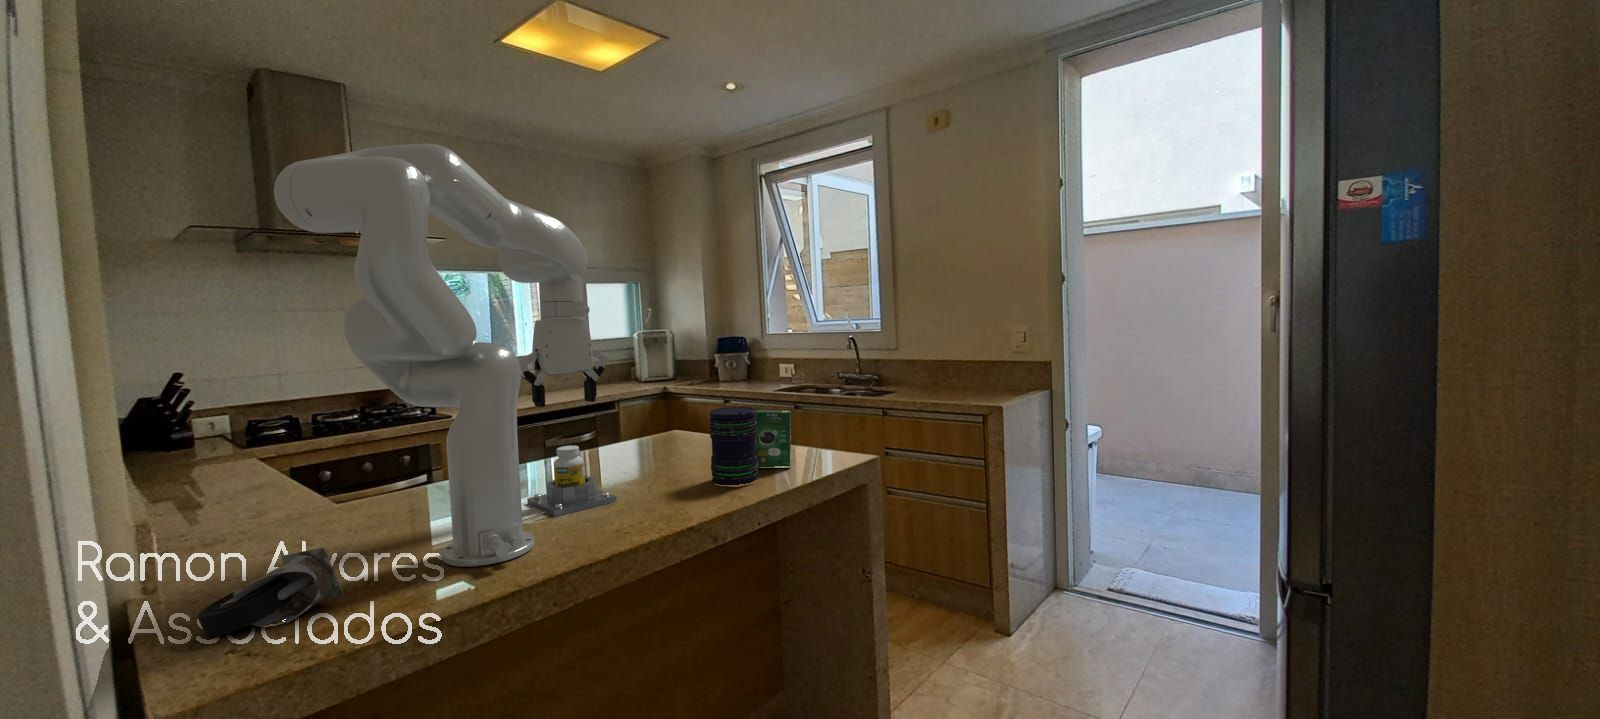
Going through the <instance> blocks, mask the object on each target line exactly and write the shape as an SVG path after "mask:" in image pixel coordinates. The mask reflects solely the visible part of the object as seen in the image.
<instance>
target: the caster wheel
mask: <svg viewBox="0 0 1600 719" xmlns="http://www.w3.org/2000/svg"><path fill="white" fill-rule="evenodd" d="M280 557H281V559H282V562H283V564H282V565H279V567H277V568H275V569H273V570H271V571H269V572H268V573H266V574H264V575H262V576H261V577H258V578H257V579H255V580H253V581H252V582H250V583H249V584H248V585H246V586H245V587H242V588H239V589H238V590H235V591H234V592H230V593H229V594H227V595H225V596H223V597H222V598H219V599H218V600H216V601H214V602H212V603H211V604H209V605H208V606H206V607H205V608H204V609H202V610H201V611H200V612H199V613H198V614H197V619H198V622H199V624H200V626H201V628H202V630H203V633H204V634H205V635H206V637H209V638H215V637H218V636H223V635H226V634H229V633H233V632H235V631H238V630H241V629H243V628H245V627H248V626H254V627H257V628H262V627H265V626H268V625H270V624H278V623H281V621H282V620H284V619H286V620H284V621H285V622H284V623H286V624H288V623H290V622H291V621H293V620H295V619H296V618H297V617H299V616H301V615H302V614H303V613H304V612H306V611H309V609H311V608H312V607H314V606H315V605H317V604H318V603H320V602H322V601H323V600H324V599H325V600H326V599H331V598H336V597H341V596H344V595H345V594H344V590H343V587H342V586H341V584H340V582H339V579H338V576H337V575H336V573H335V570H334V568H333V566H332V563H331V561H330V559H329V556H328V554H327V552H326V550H325V548H324V547H316V548H313V549H308V550H302V551H298V552H293V553H288V554H283V555H281V556H280ZM282 623H283V622H282ZM284 623H283V625H285V624H284ZM278 625H280V624H278ZM280 626H281V625H280Z"/></svg>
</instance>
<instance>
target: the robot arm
mask: <svg viewBox="0 0 1600 719" xmlns="http://www.w3.org/2000/svg"><path fill="white" fill-rule="evenodd" d="M273 195H274V200H275V203H276V205H277V208H278V209H279V211H280V212H281V214H282V215H283V216H284V217H285V218H286V219H287V221H289V222H290V223H291V224H293V225H294V226H296V227H298V228H299V229H302V230H305V231H307V232H311V233H317V234H336V233H354V232H355V233H356V232H357V233H359V232H361V233H360V237H359V238H360V239H359V244H358V248H357V249H358V250H357V254H356V257H355V263H354V268H353V269H354V274H353V275H354V279H355V283H356V286H357V287H358V290H359V291H360V294H362V295H363V296H361V297H359V298H358V299H356V300H355V301H353V302H352V303H351V304H350V305H349V306H348V308H347V310H346V312H345V315H344V318H343V333H344V336H345V341H346V343H347V345H348V347H349V349H350V350H351V352H352V354H353V355H354V356H355V357H356V358H357V359H358V360H359V362H360V363H361V364H362V365H363V366H365V367H366V368H367V369H368V370H369V371H370V372H371V373H372V374H373V375H374V376H375V377H376V378H377V379H378V380H379V381H380V382H381V383H383V384H384V385H385V386H386V387H387V388H388V389H389V390H390V391H391V392H393V393H394V395H396V396H397V397H399V398H400V399H401V400H402V401H404V402H405V403H407V404H410V405H412V406H416V407H423V408H458V411H457V414H456V416H455V417H454V420H453V421H452V423H451V424H450V426H449V429H448V432H447V435H446V443H445V444H446V446H445V447H446V456H447V470H448V474H447V475H448V487H449V489H448V490H449V499H450V501H449V504H450V514H451V515H450V516H451V529H452V542H451V543H449V544H448V545H446V546H445V547H444V548H443V549H442V551H441V560H442V562H444V563H445V564H447V565H450V566H451V567H452V566H453V567H465V568H467V567H469V568H470V567H481V566H488V565H489V566H490V565H492V564H494V565H495V564H498V563H502V562H507V561H509V560H513V559H515V558H518V557H520V556H522V555H524V554H526V553H528V552H529V551H530V550H531V549H533V547H534V546H535V536H534V535H533V534H532V533H530V532H529V531H525V530H524V528H523V512H522V511H523V510H522V509H523V508H522V492H521V491H522V490H521V477H520V460H519V441H518V405H519V404H518V403H519V394H520V388H521V380H522V378H523V379H524V380H525V381H527V382H528V384H529V385H530V386H531V398H532V399H531V400H532V403H533V404H534V407H535V408H536V407H537V408H545V407H546V389H545V386H546V385H544V384H543V381H544V380H546V378H547V376H548V375H558V374H571V373H572V374H574V373H581V375H582V376H583V377H584V378H585V380H584V381H583V394H584V401H585V402H590V403H594V402H596V397H597V395H598V394H597V393H598V392H597V381H599V379H600V376H601V375H602V374H603V373H604V371H605V368H606V366H607V364H608V361H609V357H608V356H606V355H604V354H602V353H600V352H598V351H596V350H594V349H593V345H592V343H593V342H592V337H591V333H590V327H589V323H588V321H587V319H584V317H585V314H589V313H590V307H589V306H586V305H585V304H584V302H583V279H582V278H583V276H584V275H585V274H586V271H587V270H588V266H589V265H588V263H589V261H588V255H587V251H586V249H585V246H584V245H583V243H582V241H581V240H580V239H579V238H578V237H577V235H575V233H574V232H573V231H572V230H571V229H570V228H569V227H568V226H567V225H565V224H564V223H563V222H562V221H560V220H559V219H557V218H555V217H553V216H552V215H549V214H548V213H547V214H546V213H544V212H542V211H539V210H538V209H534V208H531V207H529V206H527V205H525V204H521V203H519V202H516V201H513V200H511V199H507V198H505V197H504V196H503V195H502V194H501V193H499V192H498V190H497V189H496V188H494V187H493V186H492V185H491V184H490V183H488V181H486V180H485V179H484V178H483V177H482V176H481V175H480V174H479V173H478V172H476V170H474V169H473V167H471V166H470V165H469V164H468V163H467V162H465V161H464V160H463V159H462V158H461V157H460V156H459V155H458V154H457V153H456V152H454V151H453V150H452V149H450V148H448V147H445V146H443V145H442V144H441V145H440V144H435V143H412V144H411V143H410V144H398V145H382V146H375V147H369V148H363V149H357V150H355V151H349V152H343V153H339V154H334V155H327V156H322V157H317V158H316V157H315V158H311V159H304V160H298V161H296V162H293V163H291V164H289V165H287V166H285V168H283V169H282V170H281V172H280V173H279V174H278V176H277V177H276V180H275V183H274V188H273ZM430 214H431V215H432V216H434V217H435V218H436V219H438V220H439V221H441V223H443V224H445V225H446V226H447V227H448V228H450V229H452V230H453V232H456V233H457V234H458V235H459V236H461V237H462V238H463V239H465V240H466V241H468V242H469V243H471V244H473V245H478V246H481V247H485V248H488V249H495V250H500V252H499V256H498V263H499V267H500V270H501V271H502V273H503V274H504V275H505V276H506V277H507V278H508V279H510V280H512V281H514V282H516V283H520V284H537V283H538V294H539V315H540V318H539V319H537V320H535V321H534V322H535V323H534V328H533V335H532V336H533V337H532V350H531V353H528V354H527V355H525V356H524V357H522V358H520V359H519V358H518V357H517V355H516V353H514V351H512V350H511V349H510V348H509V347H506V346H504V345H502V344H499V343H498V344H497V343H493V342H483V341H482V342H480V341H479V342H478V341H477V342H476V340H477V336H478V334H477V333H478V332H477V327H476V324H475V321H474V319H473V318H472V316H471V314H470V312H469V311H468V310H467V308H466V307H465V305H464V304H463V303H462V302H461V300H460V299H459V297H458V296H457V294H455V292H453V290H452V289H451V286H449V285H448V284H447V282H446V281H445V280H444V278H443V277H442V276H441V275H440V273H439V272H438V270H437V269H436V267H435V266H434V264H433V263H432V261H431V259H430V257H429V251H428V246H427V245H428V244H427V238H428V237H427V236H428V226H429V225H428V224H429V216H430ZM594 360H596V361H597V363H596V366H595V367H594V368H593V365H594ZM530 364H531V365H532V366H531V367H532V370H533V373H532V372H531V371H530V370H529V368H528V365H530Z"/></svg>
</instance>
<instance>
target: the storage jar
mask: <svg viewBox="0 0 1600 719" xmlns="http://www.w3.org/2000/svg"><path fill="white" fill-rule="evenodd" d="M756 411H757V409H756V408H753V407H746V406H744V407H743V406H732V407H720V408H714V409H711V410H709V436H710V437H709V438H710V439H711V457H710V462H711V464H710V470H711V471H710V472H711V476H712V478H711V483H712V482H713V483H715V484H719V485H739V484H746V483H751V482H753V481H755V480H757V479H758V480H759V476H758V473H759V469H758V462H757V461H758V457H757V454H756V436H757V429H756V428H757V422H756Z"/></svg>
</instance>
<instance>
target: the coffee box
mask: <svg viewBox="0 0 1600 719" xmlns="http://www.w3.org/2000/svg"><path fill="white" fill-rule="evenodd" d="M791 412H792V410H764V409H762V410H760V409H759V410H757V409H756V414H755V416H756V422H757V428H756V429H757V436H756V454H757V457H758V461H757V462H758V467H774V466H790V465H791V466H792V446H791V445H792V444H791V443H792V435H791V434H792V428H791V427H792V413H791Z"/></svg>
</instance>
